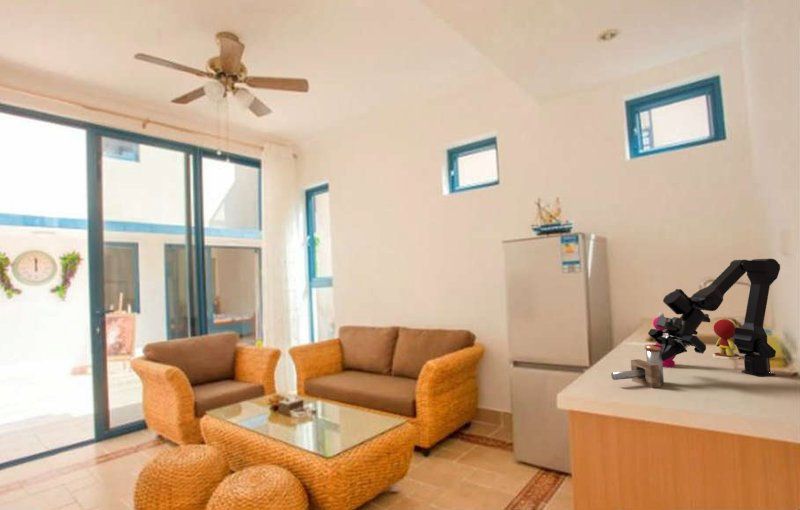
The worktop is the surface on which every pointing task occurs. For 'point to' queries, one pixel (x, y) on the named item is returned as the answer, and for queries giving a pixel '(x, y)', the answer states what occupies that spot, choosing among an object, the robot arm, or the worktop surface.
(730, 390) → the worktop surface
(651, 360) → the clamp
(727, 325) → the figurine
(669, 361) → the pepper mill
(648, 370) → the tan wooden block
